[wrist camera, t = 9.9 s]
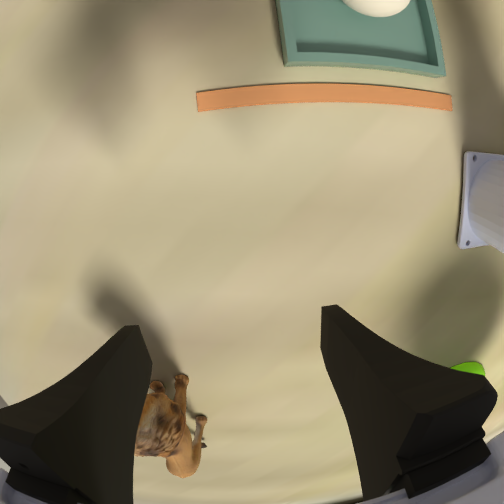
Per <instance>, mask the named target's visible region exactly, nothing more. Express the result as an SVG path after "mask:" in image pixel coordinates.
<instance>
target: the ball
mask: <svg viewBox="0 0 504 504" xmlns="http://www.w3.org/2000/svg"><path fill="white" fill-rule="evenodd" d="M342 1H343V2H344V3H345V4H346V5H347V6H349V7H350V8H352V9H353V10H355V11H357V12H359V13H361V14H364V15H367V16H372V17H388V16H392V15H395V14H397V13H399V12H401V11H402V10H403V9H405V8H406V7H407V5H408V4H409V2H410V0H342Z"/></svg>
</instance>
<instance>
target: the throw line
mask: <svg viewBox="0 0 504 504" xmlns="http://www.w3.org/2000/svg"><path fill="white" fill-rule="evenodd" d="M196 95H197V104H198V112H201V111H208V110H215V109H223V108H231V107H241V106H251V105H263V104H278V103H299V102H361V103H382V104H396V105H407V106H417V107H426V108H434V109H441V110H448V111H452V100H451V96H450V95H445V94H439V93H433V92H426V91H420V90H412V89H404V88H395V87H384V86H372V85H355V84H281V85H264V86H251V87H240V88H230V89H222V90H214V91H207V92H200V93H196Z"/></svg>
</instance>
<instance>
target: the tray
mask: <svg viewBox="0 0 504 504" xmlns="http://www.w3.org/2000/svg"><path fill="white" fill-rule="evenodd" d="M275 2H276V9H277V16H278V23H279V30H280V37H281V45H282V53H283V61H284V67H286V66H331V67H352V68H366V69H377V70H387V71H395V72H402V73H409V74H416V75H422V76H428V77H433V78H437V77H444V76H446V71H445V64H444V58H443V52H442V46H441V40H440V35H439V30H438V26H437V21H436V17H435V13H434V9H433V5H432V1H431V0H410V2H409V4H408V5H407V7H406V8H405V9H403V10H402V11H401V12H399V13H397V14H395V15H392V16H388V17H372V16H367V15H364V14H361V13H359V12H357V11H355V10H353V9H352V8H350V7H349V6H347V5H346V4H345V3H344V2H343V1H342V0H275Z"/></svg>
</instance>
